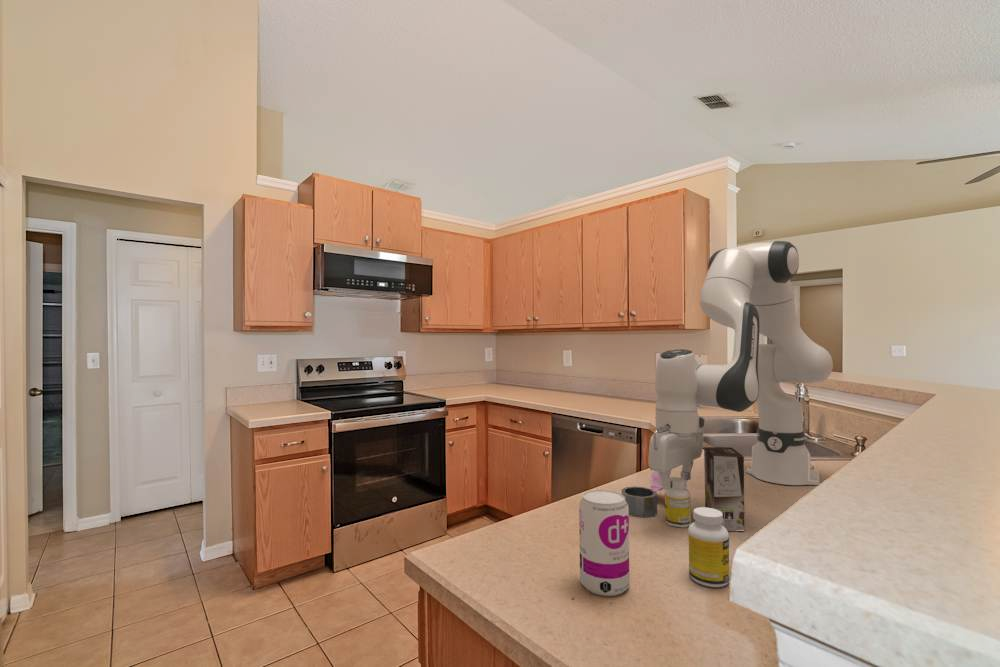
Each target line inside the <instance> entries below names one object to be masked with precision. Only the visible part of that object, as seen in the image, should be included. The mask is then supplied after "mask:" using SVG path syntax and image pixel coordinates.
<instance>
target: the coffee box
mask: <svg viewBox="0 0 1000 667" xmlns="http://www.w3.org/2000/svg"><path fill="white" fill-rule="evenodd" d="M703 452H704V453H703V457H704V459H703V460H704V464H703V465H704V498H705V499H704V501H705V502H704V504H705V506H704V507H707V508H713V509H716V510H719V511H721V512H722V514H723V522H722V523H721V525H722V526H723V527H725V528H726V530H727V531H728V532H737V531H736V530H744V531H745V456H744V455H742V454H741V453H739V452H738V451H737V450H736V449H734V448H733V447H724V446H720V447H719V446H714V447H710V446H709V447H707V446H705V447H704V446H703Z"/></svg>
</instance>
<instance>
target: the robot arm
mask: <svg viewBox="0 0 1000 667" xmlns="http://www.w3.org/2000/svg"><path fill="white" fill-rule="evenodd" d="M799 256H800V255H799V252H798V249H797V247H796V246H795V245H794V244H793V243H791V241H785V240H775V241H770V242H768V241H767V242H766V241H765V242H754V243H748V244H745V245H744V244H743V245H739V246H738V245H737V246H734V247H725V248H721V249H719V250H716V251H715V252H714V253H713V254H712V255H711V256H710V257H709V259H708V263H707V272H706V275H705V278H704V281H703V284H702V287H701V291H700V293H699V294H700V295H699V305H700V308H701V310H702V312H703V313H704V315H705V316H707V317H708V318H709V319H710V320H712V321H713V322H715V323H717V324H720V325H721V326H725V327H728V328H730V329H733V330H734V338H733V339H734V341H733V353H732V357H731V358H732V359H731V361H730V362H729V363H727V364H709V363H708V364H707V363H702V361H699V360H697V359H696V357H695V353H694V351H692V350H689V349H683V348H682V349H671V350H666V351H663V352H662V353H660V354H659V355H658V358H657V363H656V369H655V370H656V371H655V392H656V398H657V399H656V404H655V432H654V433H653V434H652V435H651V437H650V439H649V445H648V447H649V448H648V459H647V462H648V463H647V464H648V468H649V469H650V470H651V471H652V472H654V471H657V472H659V476H660V478H661V481H662V488H663V489H665V490H669V489H671V488H672V481H671V479H670V478H671V476H670V475H671V474H672V471H671V469H672V470H673V469H676V468H678V467H680V466H681V467H682V468H681V471H680V478H683V479H685V480H686V482H688V481H689V480H691V479H692V478H691V477H692V476H691V474H692V470H693V467H694V461H695V460H697V459H699V458H701V457H702V453H703V451H704V430H703V428H705V427H706V419H705V418H704V417H703V416H701V415H699V413H698V406H697V405H700V406H705V407H713V408H720V409H721V408H722V409H723V410H728V411H731V412H732V411H733V412H737V413H741V412H743V411H747V409H749V408H750V407H751V406H753V405H754V404H755V402H756V403H757V413H758V427H757V430H756V437H757V442H756V443H755V444H754V445H752V446H751V447H752V448H751V465H750V467H747V468H746V469H745V473H747V474H749V475H752V476H753V477H755V478H756V479H758V480H761V481H764V482H767V483H768V482H769V483H772V484H777V485H787V486H805V485H808V486H809V485H810V486H819V484H820V485H821V481H820V480H821V479H820V478H821V477H820V469H819V468H815V466H814V465H812V464H811V453H810V451H809V449H808V447H807V446H806V434H805V429H804V418H803V414H804V413H803V412H804V410H803V405H802V403H801V402H800V401H799V400H798V399H797V398H796V397H794V396H792V395H790V394H788V393H786V392H785V391H784V390H783V389H782V387H781V385H780V383H788V384H789V383H794V384H812V383H819V382H824V381H826V380H827V379H828V378H829V377H830V376H831V374H832V371H833V368H834V362H833V358H832V355H831V354H830V352H829V351H828V350H827V349H826V348H825V347H823V346H821V345H819V344H818V343H816V342H815V341H813V340H812V339H811V338H810V337H809V336H807V333H805V332H804V331H803V329H802V327H801V325H800V323H799V320H798V317H797V311H796V307H795V300H794V294H793V288H792V282H791V279H793V278H794V277H795V275H796V274H797V273H798V270H799V266H800V257H799ZM760 335H762V336H764V337H767V338H768V339H769V340H771V341H772V342H773V344H770V343H769V344H767V343H766V344H765V343H761V344H760Z"/></svg>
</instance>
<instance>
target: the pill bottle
mask: <svg viewBox="0 0 1000 667" xmlns="http://www.w3.org/2000/svg"><path fill="white" fill-rule="evenodd" d="M692 516H693V520H694V522H691V524H690V526H688V529H687V532H688V574H689V576H690V578H691V579H692V580H693V581H694V582H695V583H697V584H700V585H702V586H704V587H709V588H721V587H724V586H726V585H728V584H729V582H730V534H729V531H727V530H726V528H725V527H723V526H722V525H721V523H722V522H723V514H722V512H721V511H719V510H716V509H713V508H707V507H705V506H701V507H696V508H694V509H693V515H692Z"/></svg>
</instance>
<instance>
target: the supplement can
mask: <svg viewBox="0 0 1000 667" xmlns="http://www.w3.org/2000/svg"><path fill="white" fill-rule="evenodd" d="M578 509H579V510H578V512H579V513H578V520H579V522H578V523H579V526H578V527H579V530H578V531H579V532H578V533H579V579H580V580H579V581H580V582H581V585H583V586H584V588H585V589H586V590H587V591H588V592H590V593H593V594H594V595H598V596H602V597H615V596H619V595H621V594H623V593H625V591H626V590H628V589H629V587H631V586H630V525H629V524H630V522H629V520H630V517H629V516H630V515H629V508H628V504H627V502H626V501H625V498H624V496H623V495H622V493H620V492H617V491H614V490H609V489H608V490H607V489H595V490H592V489H591V490H589V491H585V492H584V493H583V494H582V497H581V500H580V501H579V504H578Z"/></svg>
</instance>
